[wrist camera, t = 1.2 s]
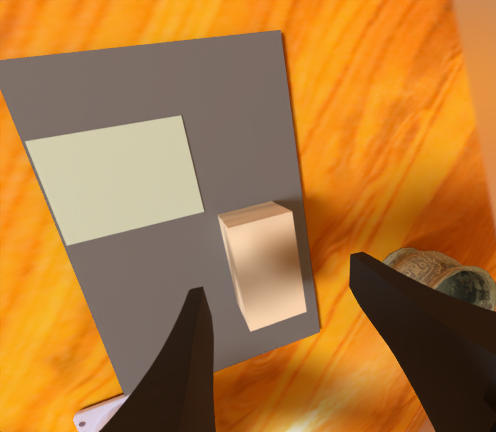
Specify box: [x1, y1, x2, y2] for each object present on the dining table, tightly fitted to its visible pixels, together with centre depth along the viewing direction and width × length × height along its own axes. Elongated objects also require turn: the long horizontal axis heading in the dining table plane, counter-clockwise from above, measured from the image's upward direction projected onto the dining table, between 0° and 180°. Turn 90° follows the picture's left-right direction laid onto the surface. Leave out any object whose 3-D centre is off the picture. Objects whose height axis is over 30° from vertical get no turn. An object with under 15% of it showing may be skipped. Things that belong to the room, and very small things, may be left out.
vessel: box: [382, 247, 496, 311], centre depth 26 cm, size 12×9×6 cm
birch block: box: [218, 201, 307, 332], centre depth 21 cm, size 8×4×4 cm, turn 11°
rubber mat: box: [0, 30, 320, 395], centre depth 21 cm, size 26×18×1 cm
